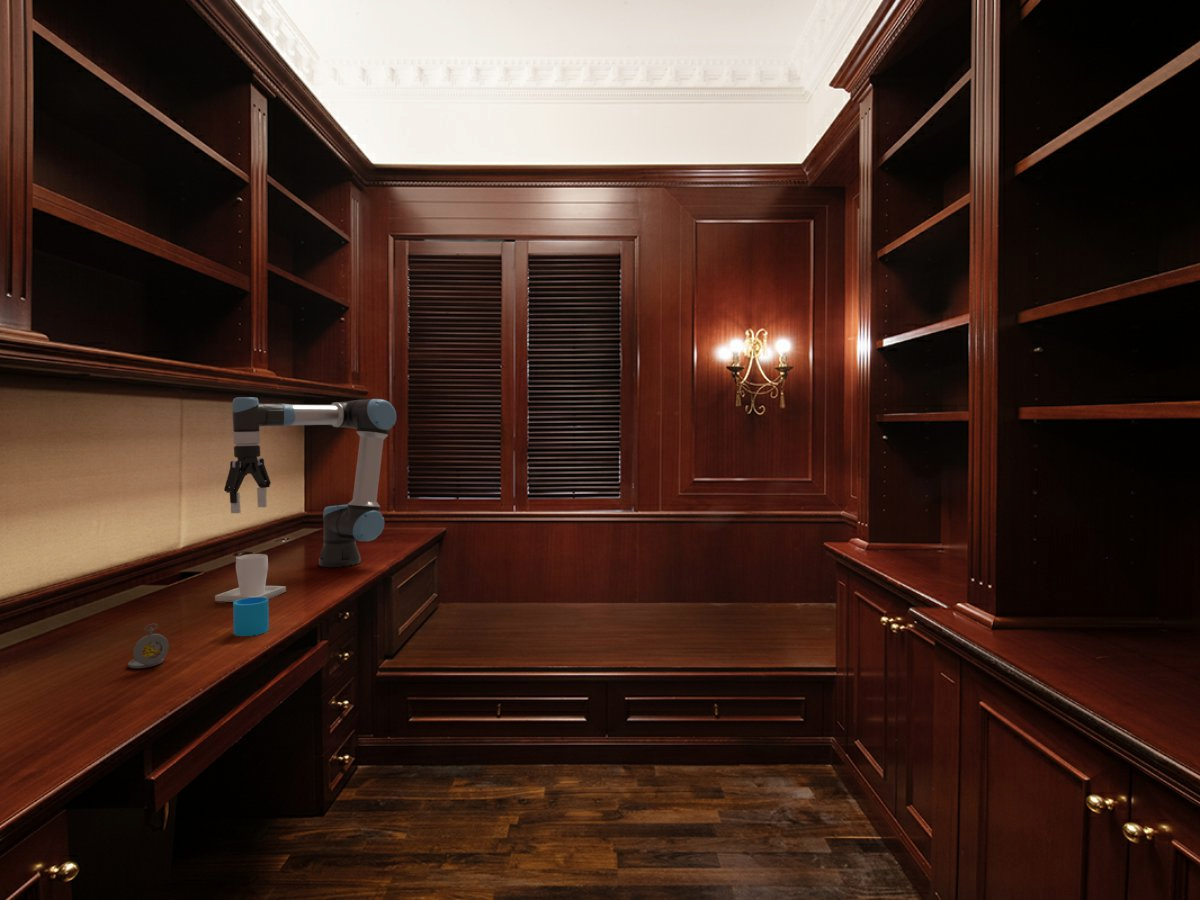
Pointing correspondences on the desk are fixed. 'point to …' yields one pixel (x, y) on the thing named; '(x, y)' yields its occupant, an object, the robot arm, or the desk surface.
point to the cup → (252, 574)
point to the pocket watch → (149, 650)
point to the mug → (251, 616)
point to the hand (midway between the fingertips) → (249, 510)
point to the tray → (235, 595)
